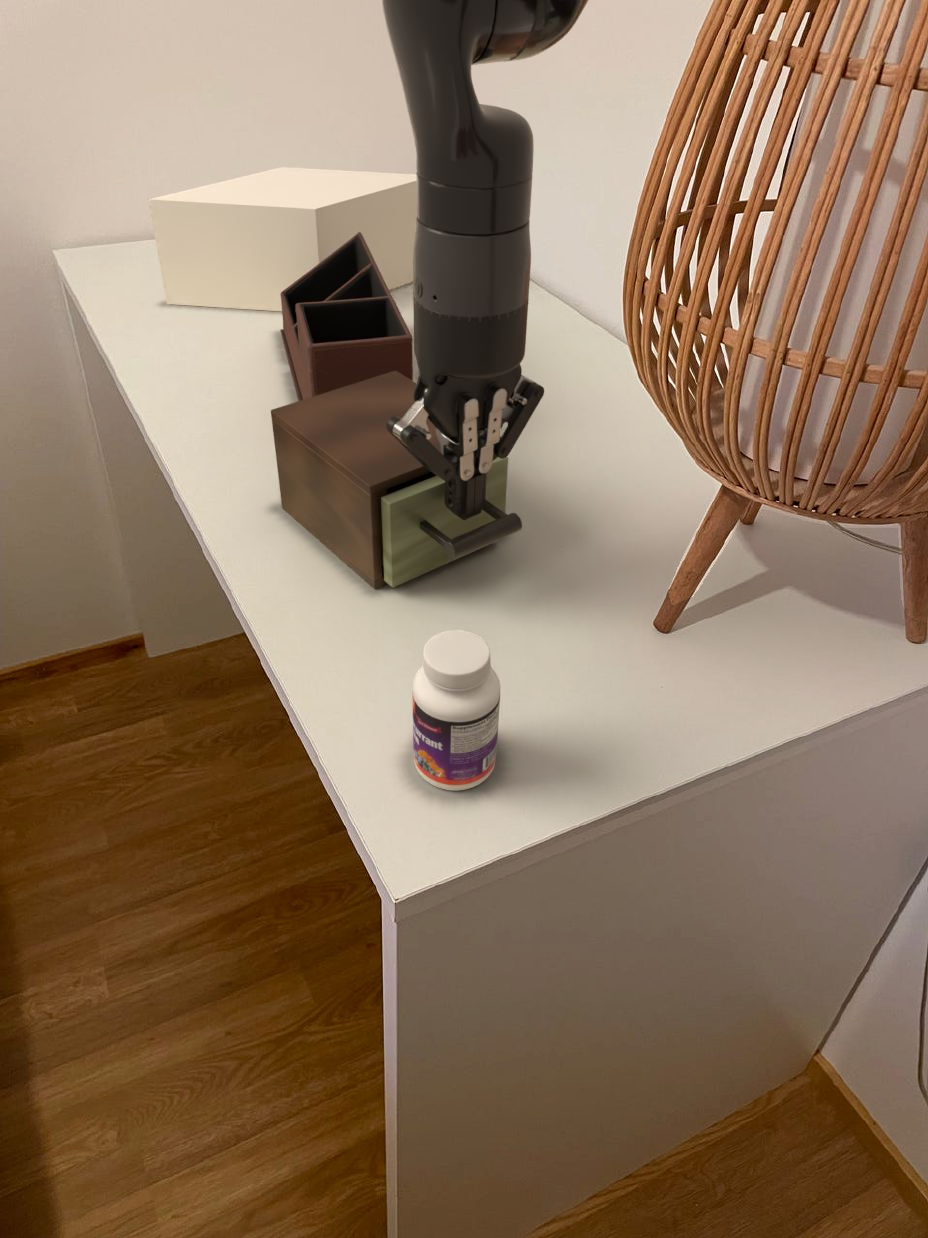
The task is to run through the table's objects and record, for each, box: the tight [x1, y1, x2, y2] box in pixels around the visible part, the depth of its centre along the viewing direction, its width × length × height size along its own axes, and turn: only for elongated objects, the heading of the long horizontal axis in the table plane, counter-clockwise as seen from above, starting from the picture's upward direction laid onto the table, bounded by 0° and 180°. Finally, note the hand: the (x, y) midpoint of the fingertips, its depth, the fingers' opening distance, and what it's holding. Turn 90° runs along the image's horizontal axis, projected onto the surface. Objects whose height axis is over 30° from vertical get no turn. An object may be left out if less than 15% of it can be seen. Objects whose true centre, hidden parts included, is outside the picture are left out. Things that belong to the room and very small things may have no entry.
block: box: [148, 166, 417, 312], centre depth 121 cm, size 18×35×12 cm, turn 110°
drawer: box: [378, 456, 523, 588], centre depth 79 cm, size 18×11×8 cm, turn 38°
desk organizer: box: [279, 232, 414, 402], centre depth 101 cm, size 10×29×11 cm, turn 14°
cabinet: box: [270, 371, 502, 590], centre depth 82 cm, size 15×13×10 cm
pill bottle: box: [411, 629, 501, 791], centre depth 61 cm, size 5×5×10 cm
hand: (465, 512), depth 74 cm, fingers closed
